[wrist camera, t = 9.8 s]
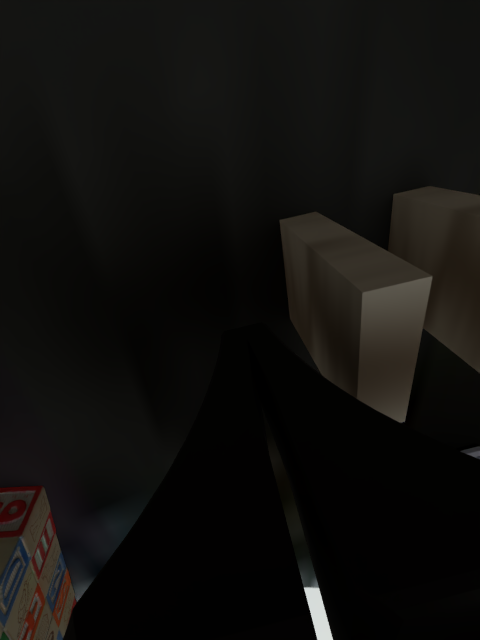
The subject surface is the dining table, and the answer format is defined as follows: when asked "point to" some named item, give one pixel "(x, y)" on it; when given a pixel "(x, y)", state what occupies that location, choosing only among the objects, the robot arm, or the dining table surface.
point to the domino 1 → (355, 310)
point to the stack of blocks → (31, 569)
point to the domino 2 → (444, 261)
